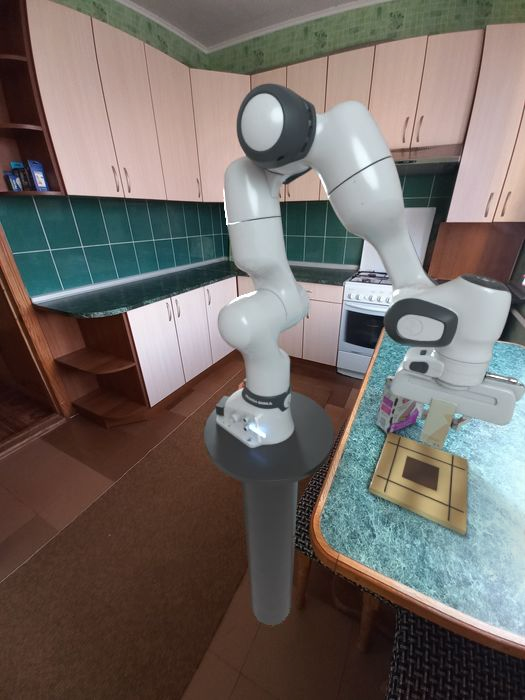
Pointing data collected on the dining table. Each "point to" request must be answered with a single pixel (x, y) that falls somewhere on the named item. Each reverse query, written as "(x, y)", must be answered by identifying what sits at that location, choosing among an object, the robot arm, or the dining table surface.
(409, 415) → the candy bar box
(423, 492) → the board
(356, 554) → the dining table surface
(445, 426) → the box
